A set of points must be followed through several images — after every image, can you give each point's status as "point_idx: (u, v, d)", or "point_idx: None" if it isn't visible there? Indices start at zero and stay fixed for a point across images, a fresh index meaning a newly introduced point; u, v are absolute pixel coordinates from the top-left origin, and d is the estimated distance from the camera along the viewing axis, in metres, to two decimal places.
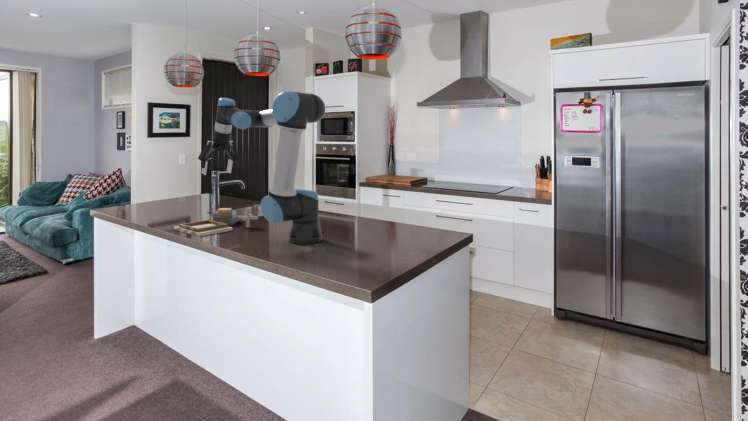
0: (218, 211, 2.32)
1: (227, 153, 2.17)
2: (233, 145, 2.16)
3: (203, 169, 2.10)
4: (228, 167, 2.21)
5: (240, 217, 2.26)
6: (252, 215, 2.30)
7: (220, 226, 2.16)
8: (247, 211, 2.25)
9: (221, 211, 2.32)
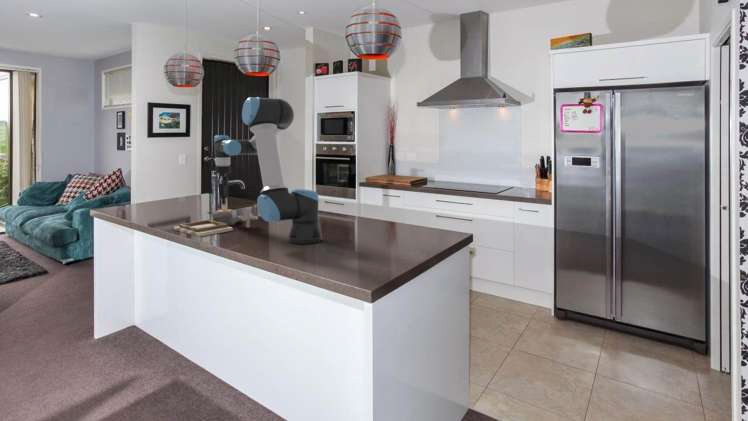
0: None
1: None
2: None
3: (223, 206, 2.34)
4: None
5: (240, 217, 2.26)
6: (252, 215, 2.30)
7: (220, 226, 2.16)
8: (247, 211, 2.25)
9: None
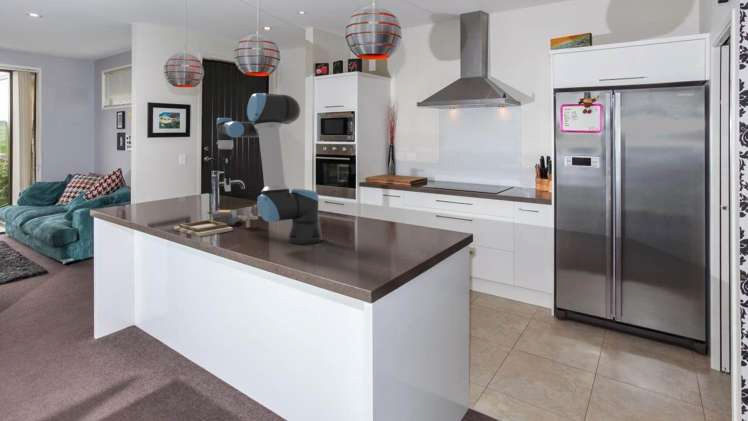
0: None
1: None
2: None
3: (227, 186, 2.25)
4: None
5: (240, 217, 2.26)
6: (252, 215, 2.30)
7: (220, 226, 2.16)
8: (247, 211, 2.25)
9: None
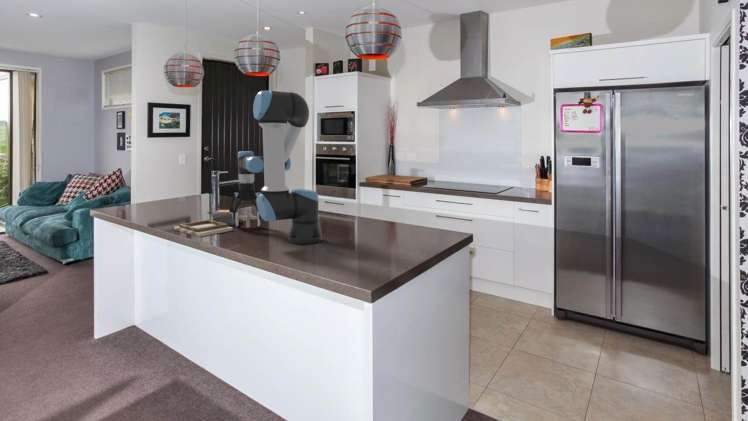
0: None
1: (239, 205, 2.24)
2: None
3: (259, 221, 2.27)
4: (237, 220, 2.25)
5: (240, 217, 2.26)
6: (252, 215, 2.30)
7: (220, 226, 2.16)
8: (247, 211, 2.25)
9: None
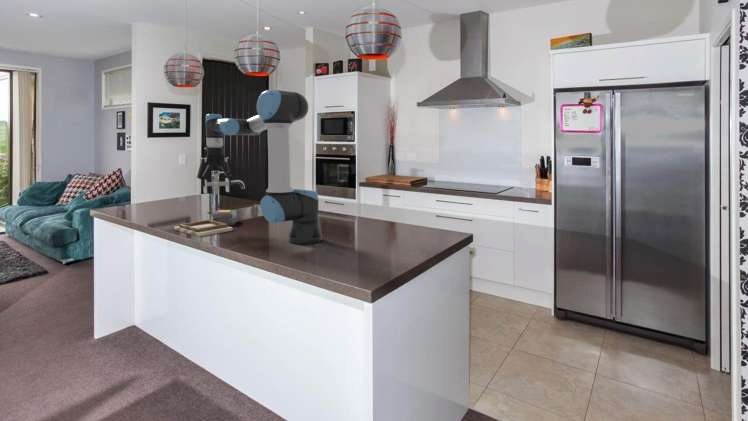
0: None
1: None
2: None
3: None
4: None
5: (209, 184, 2.15)
6: None
7: (220, 226, 2.16)
8: (216, 177, 2.17)
9: None
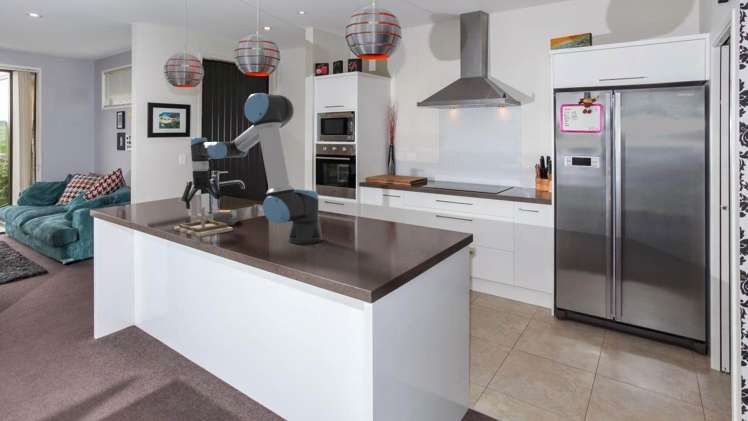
0: None
1: (193, 194, 2.11)
2: None
3: None
4: None
5: (196, 218, 2.14)
6: None
7: (220, 226, 2.16)
8: (203, 210, 2.16)
9: None
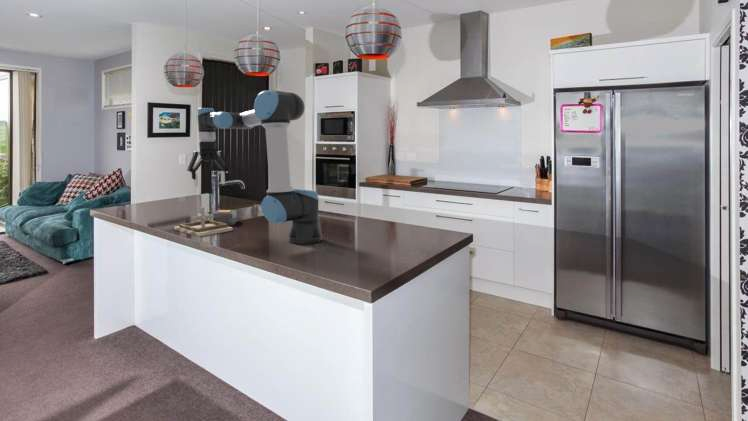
0: None
1: (199, 165, 2.12)
2: None
3: None
4: None
5: (196, 218, 2.14)
6: None
7: (220, 226, 2.16)
8: (203, 210, 2.16)
9: None
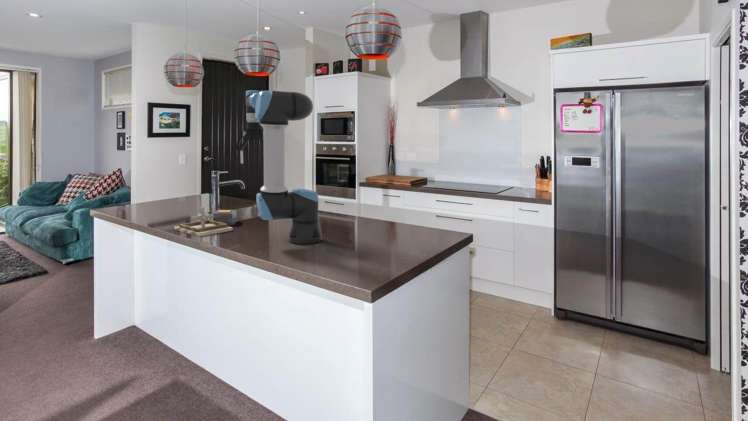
0: None
1: (245, 144, 2.28)
2: None
3: None
4: (242, 158, 2.29)
5: (196, 218, 2.14)
6: None
7: (220, 226, 2.16)
8: (203, 210, 2.16)
9: None
